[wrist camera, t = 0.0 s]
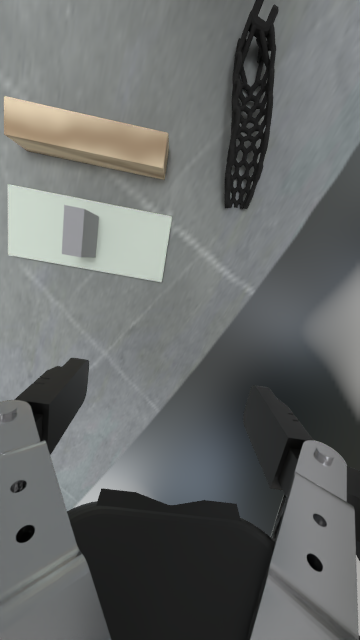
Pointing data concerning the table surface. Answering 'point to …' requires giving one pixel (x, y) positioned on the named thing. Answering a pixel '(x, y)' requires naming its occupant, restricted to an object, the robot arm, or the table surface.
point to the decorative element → (261, 32)
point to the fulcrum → (86, 234)
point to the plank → (86, 138)
